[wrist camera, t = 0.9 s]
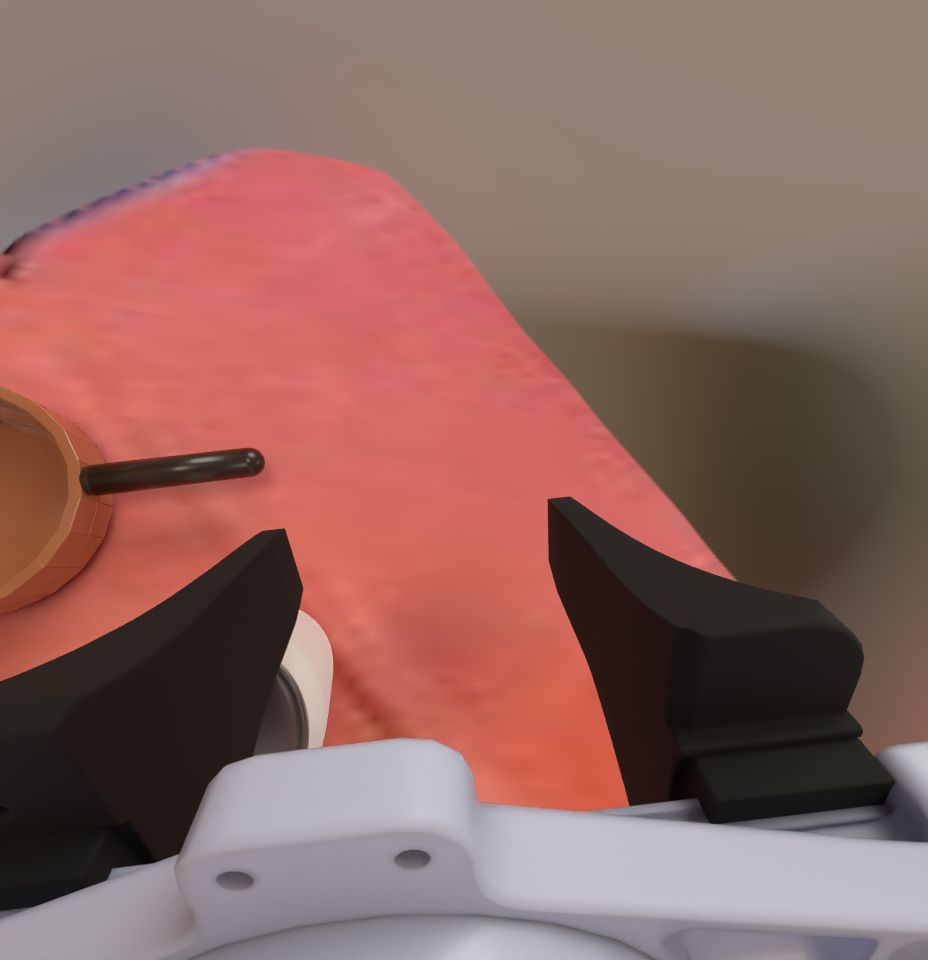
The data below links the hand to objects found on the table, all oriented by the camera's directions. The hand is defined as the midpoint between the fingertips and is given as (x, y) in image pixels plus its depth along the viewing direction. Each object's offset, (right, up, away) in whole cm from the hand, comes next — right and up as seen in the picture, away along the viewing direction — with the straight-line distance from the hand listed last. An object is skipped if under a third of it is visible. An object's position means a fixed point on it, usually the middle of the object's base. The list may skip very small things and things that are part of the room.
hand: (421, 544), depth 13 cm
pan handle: (-12, +2, +10) cm, 16 cm away
